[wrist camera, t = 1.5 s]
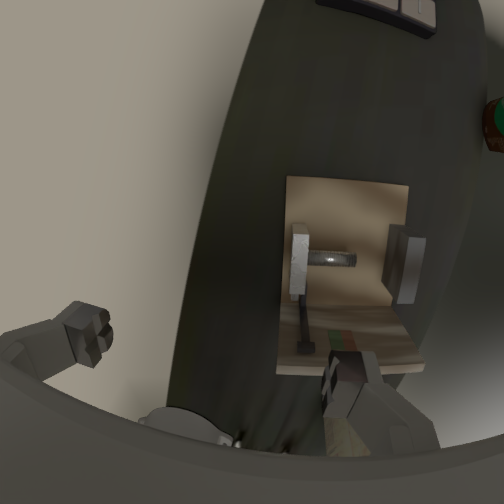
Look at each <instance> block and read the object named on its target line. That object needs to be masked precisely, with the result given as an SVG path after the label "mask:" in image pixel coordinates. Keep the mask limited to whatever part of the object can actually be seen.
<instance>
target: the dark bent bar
mask: <svg viewBox="0 0 504 504" xmlns="http://www.w3.org/2000/svg"><path fill="white" fill-rule="evenodd" d="M307 287H308V284H307V280H306V284H305V294H300V299H299V316H300V333H301V341H297V352H300V353H315V342H310V334H309V325H308V316H307V307H306V298H307Z"/></svg>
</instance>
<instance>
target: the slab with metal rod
mask: <svg viewBox="0 0 504 504" xmlns="http://www.w3.org/2000/svg"><path fill="white" fill-rule="evenodd" d="M308 247H309V232H308V229H307V226H306V224H303V223H292V234H291V252H290V269H289V294H291V300H292V301H298V297H299V294H305V284H306V272H307V265H310V266H331V267H353V268H355V267H356V263H357V254H356V252H343V251H323V250H308Z"/></svg>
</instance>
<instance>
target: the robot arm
mask: <svg viewBox="0 0 504 504" xmlns="http://www.w3.org/2000/svg"><path fill="white" fill-rule="evenodd" d="M109 321H110V315H109V312H108V311H107V310H106V309H104V308H100V307H97V306H94V305H90V304H87V303H83V302H80V301H74V302H72V303H71V304H70V305H69V306H68V307H67V308H65V309H64V310H63V311H62V312H61V313H60V314H58V315H57V316H56V317H55V318H54V319H53V320H50V319H49V320H45V321H42V322H39V323H35V324H32V325H29V326H25V327H22V328H19V329H15V330H12V331H9V332H5V333H3V334H2V335H1V336H0V504H504V434H501V435H498V436H495V437H491V438H487V439H483V440H480V441H475V442H471V443H467V444H463V445H458V446H452V447H447V448H442V449H441V448H440V445H439V441H438V438H437V435H436V432H435V429H434V426H433V423H432V421H431V420H429V419H428V418H427V417H426V416H425V415H424V414H422V413H421V412H420V411H419V410H418V409H417V408H416V407H414V406H413V405H412V404H411V403H410V402H408V401H407V400H406V399H405V398H404V397H403V396H402V395H400V394H399V393H398V392H397V391H396V390H395V389H393V388H392V387H391V386H390V385H389V384H386V383H384V382H383V378H382V375H381V372H380V368H379V365H378V361H377V358H376V355H375V353H374V352H373V351H349V350H336V349H332V350H331V351H330V354H329V357H328V362H329V365H328V366H326V367H325V369H324V373H323V377H322V384H321V392H322V394H323V395H324V398H323V401H322V413H323V417H329V418H344V419H346V420H347V421H348V423H349V424H350V425H351V427H352V428H353V429H354V431H355V432H356V433H357V435H358V436H359V437H360V439H361V440H362V441H363V443H364V444H365V445H366V447H367V448H368V449H369V451H370V452H371V454H370V455H369V456H361V457H326V456H304V455H290V454H280V453H270V452H262V451H255V450H248V449H242V448H236V447H231V445H232V442H233V438H232V437H231V436H230V435H228V434H226V433H224V432H222V431H220V430H218V429H217V428H216V427H215V426H214V425H213V424H212V423H210V422H209V421H208V420H206V419H205V418H203V417H201V416H199V415H197V414H195V413H193V412H190V411H187V410H184V409H179V408H173V407H162V408H157V409H155V410H153V411H152V412H151V413H150V414H149V415H148V416H147V417H143V418H140V419H139V420H138V423H136V422H133V421H130V420H128V419H125V418H122V417H119V416H117V415H114V414H111V413H109V412H106V411H104V410H101V409H98V408H97V407H94V406H92V405H89V404H87V403H85V402H82V401H80V400H78V399H76V398H74V397H72V396H70V395H67V394H65V393H63V392H61V391H59V390H57V389H55V388H53V387H51V386H49V385H47V384H46V383H44V382H42V381H44V380H46V379H48V378H50V377H52V376H54V375H55V374H57V373H59V372H61V371H63V370H65V369H67V368H68V367H71V366H72V365H74V364H76V363H79V364H82V365H85V366H87V367H90V368H94V367H95V366H96V365H97V363H98V362H99V361H100V360H101V358H102V355H101V353H103V352H106V351H108V349H109V348H110V347H111V345H112V342H113V329H112V327H111V326H110V325H109V323H108V322H109Z"/></svg>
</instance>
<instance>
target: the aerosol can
mask: <svg viewBox="0 0 504 504" xmlns="http://www.w3.org/2000/svg"><path fill="white" fill-rule="evenodd" d="M323 398H324V395H323V396H322V401H323ZM324 426H325V438H326V451H327V457H361V456H369V455H370V454H371V452H370V451H369V449H368V448H367V447H366V445H365V444H364V443H363V441H362V440H361V439H360V437H359V436H358V435H357V433H356V432H355V431H354V429H353V428H352V427H351V425H350V424H349V423H348V421H347V420H346V419H344V418H329V417H324Z"/></svg>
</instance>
